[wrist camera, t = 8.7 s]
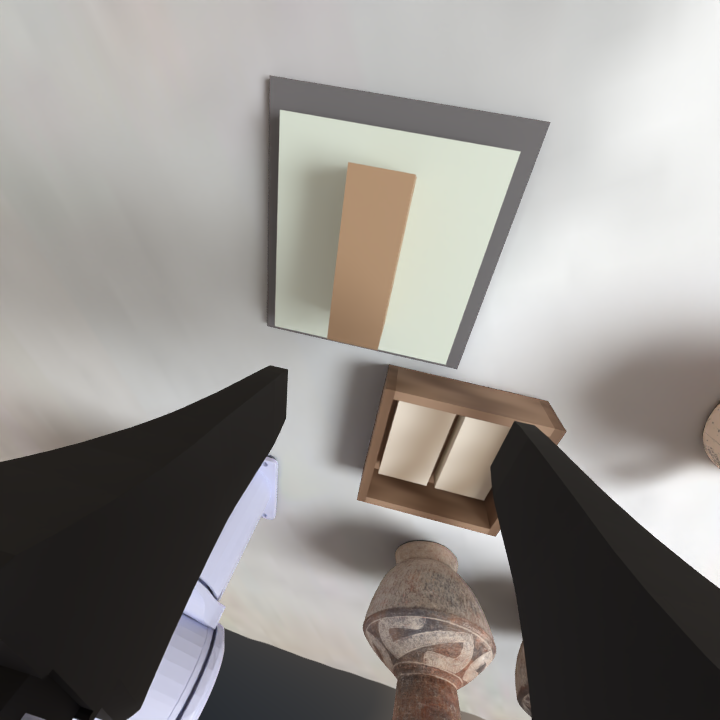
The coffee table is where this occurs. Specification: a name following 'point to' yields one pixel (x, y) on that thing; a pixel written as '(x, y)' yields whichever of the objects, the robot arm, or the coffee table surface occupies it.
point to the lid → (382, 232)
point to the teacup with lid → (713, 436)
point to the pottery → (432, 634)
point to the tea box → (444, 446)
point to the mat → (415, 120)
